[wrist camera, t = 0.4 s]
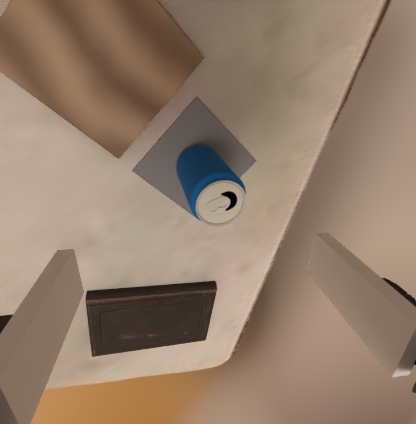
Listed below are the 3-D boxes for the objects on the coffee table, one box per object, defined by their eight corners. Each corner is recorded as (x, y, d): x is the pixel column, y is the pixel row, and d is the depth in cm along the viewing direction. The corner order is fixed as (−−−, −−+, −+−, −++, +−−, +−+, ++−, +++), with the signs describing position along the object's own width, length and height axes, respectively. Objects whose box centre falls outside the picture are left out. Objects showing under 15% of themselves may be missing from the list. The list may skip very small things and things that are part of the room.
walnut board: (76, -95, 23) (73, -101, 22) (202, 57, 31) (204, 57, 30) (-18, 54, 26) (-23, 54, 25) (118, 156, 34) (118, 158, 33)
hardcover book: (203, 331, 59) (205, 340, 57) (93, 345, 52) (92, 356, 50) (214, 278, 51) (217, 287, 49) (87, 288, 44) (85, 298, 43)
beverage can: (223, 177, 39) (254, 217, 29) (183, 192, 39) (201, 238, 29) (212, 136, 36) (243, 167, 26) (168, 152, 35) (183, 190, 25)
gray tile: (196, 96, 33) (196, 96, 33) (256, 160, 40) (256, 160, 39) (132, 170, 36) (132, 170, 35) (197, 218, 42) (198, 219, 42)
